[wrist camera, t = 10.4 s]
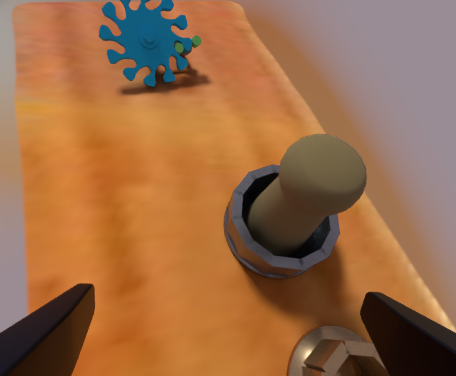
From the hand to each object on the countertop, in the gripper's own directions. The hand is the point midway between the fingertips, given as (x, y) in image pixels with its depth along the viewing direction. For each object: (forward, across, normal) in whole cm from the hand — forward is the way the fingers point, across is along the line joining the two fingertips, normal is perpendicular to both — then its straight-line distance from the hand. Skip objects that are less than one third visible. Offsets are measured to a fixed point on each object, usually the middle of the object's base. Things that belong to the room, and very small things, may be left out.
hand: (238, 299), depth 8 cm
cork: (+15, -6, +4) cm, 16 cm away
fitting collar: (+15, -6, +4) cm, 17 cm away
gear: (+30, +8, -10) cm, 32 cm away
